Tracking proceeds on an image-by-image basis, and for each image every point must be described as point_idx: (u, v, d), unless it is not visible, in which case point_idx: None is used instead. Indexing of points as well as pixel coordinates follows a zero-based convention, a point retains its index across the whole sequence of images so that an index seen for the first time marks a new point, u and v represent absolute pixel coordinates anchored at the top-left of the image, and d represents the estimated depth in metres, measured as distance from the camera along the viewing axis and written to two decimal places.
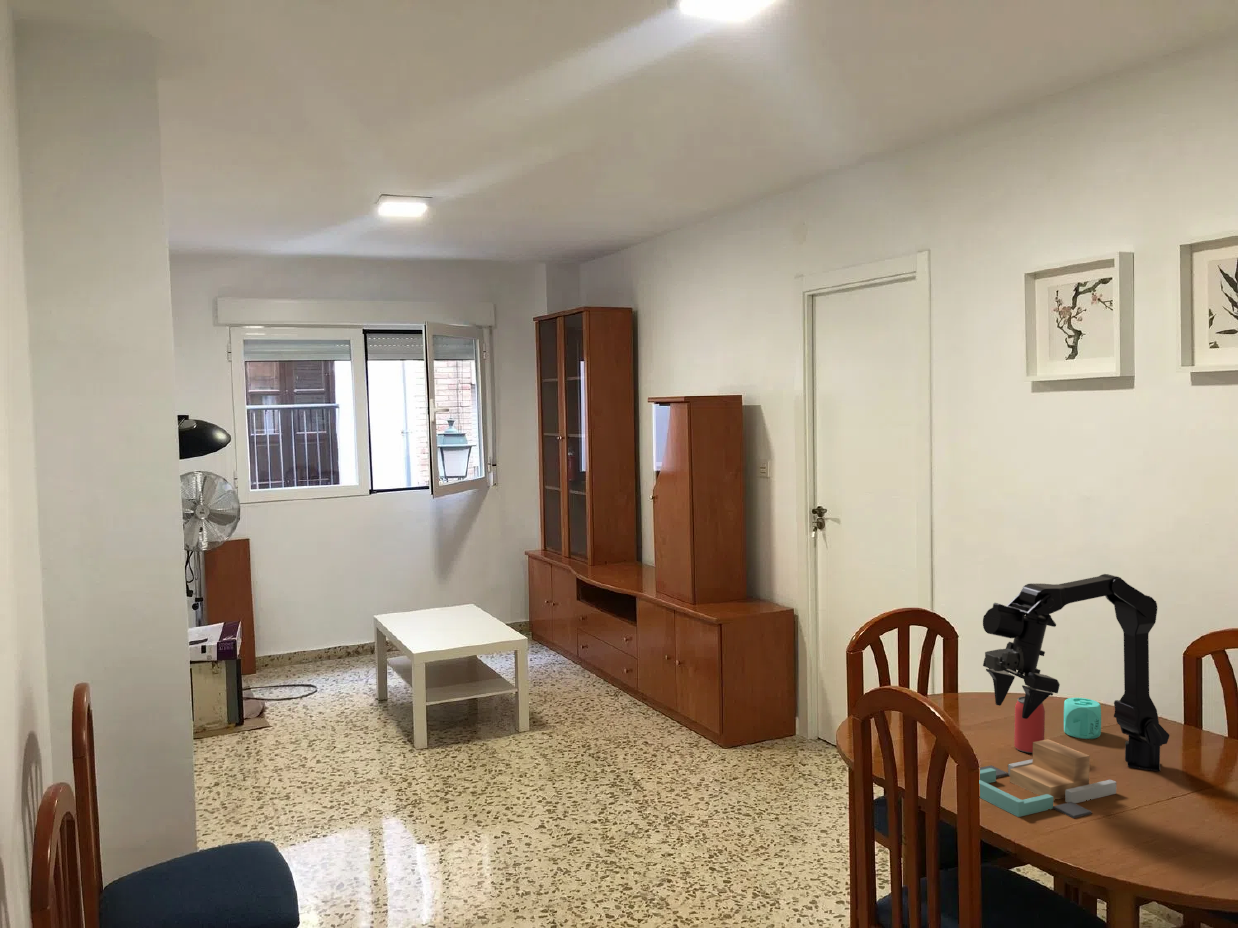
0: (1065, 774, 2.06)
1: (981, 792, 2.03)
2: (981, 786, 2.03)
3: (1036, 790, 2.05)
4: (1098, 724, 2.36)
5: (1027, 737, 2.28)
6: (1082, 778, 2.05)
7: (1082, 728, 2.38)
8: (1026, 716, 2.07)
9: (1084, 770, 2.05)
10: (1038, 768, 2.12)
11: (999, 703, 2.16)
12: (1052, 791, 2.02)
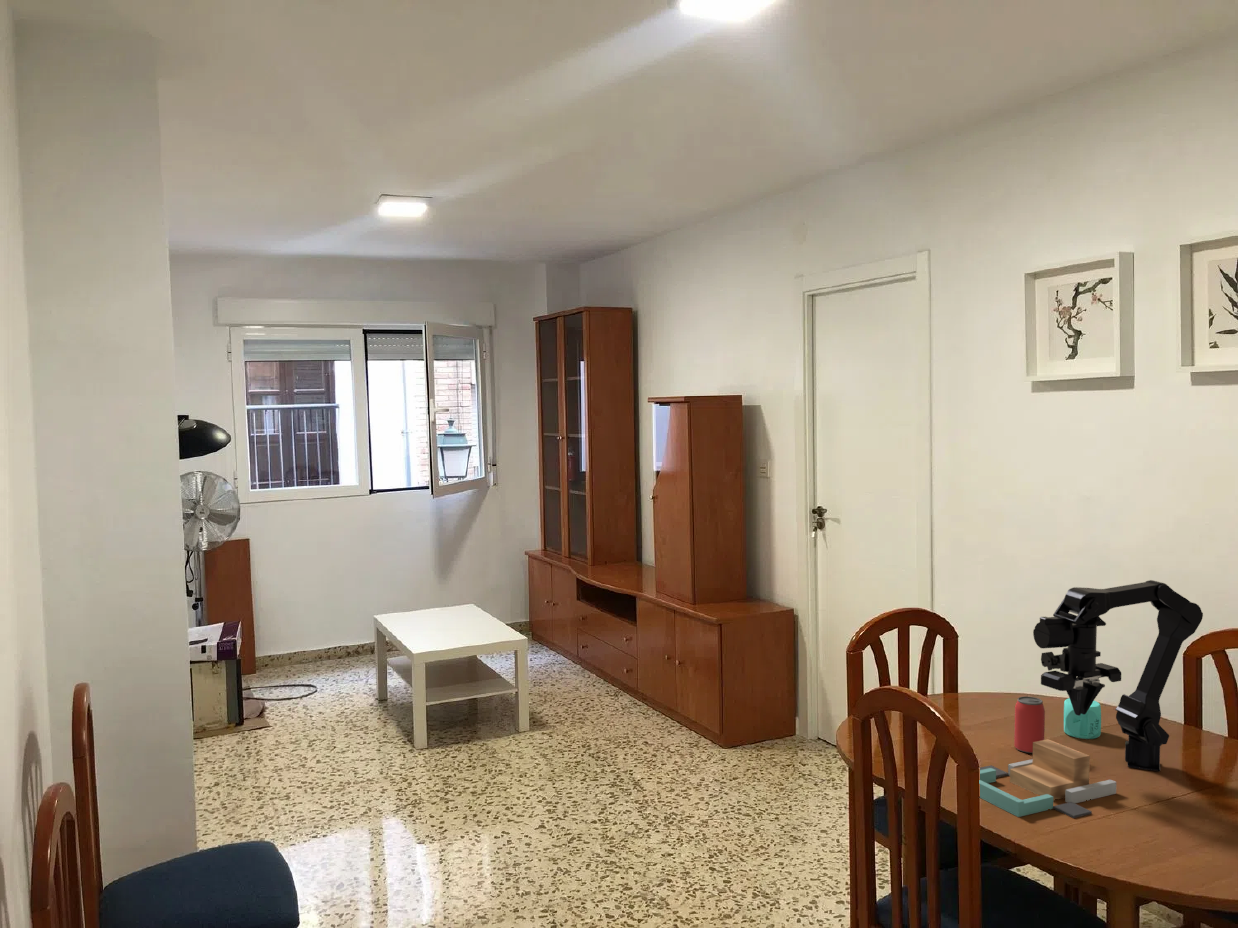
0: (1065, 774, 2.06)
1: (981, 792, 2.03)
2: (981, 786, 2.03)
3: (1036, 790, 2.05)
4: (1098, 724, 2.36)
5: (1027, 737, 2.28)
6: (1082, 778, 2.05)
7: (1082, 728, 2.38)
8: (1076, 712, 2.16)
9: (1084, 770, 2.05)
10: (1038, 768, 2.12)
11: (1082, 712, 2.17)
12: (1052, 791, 2.02)
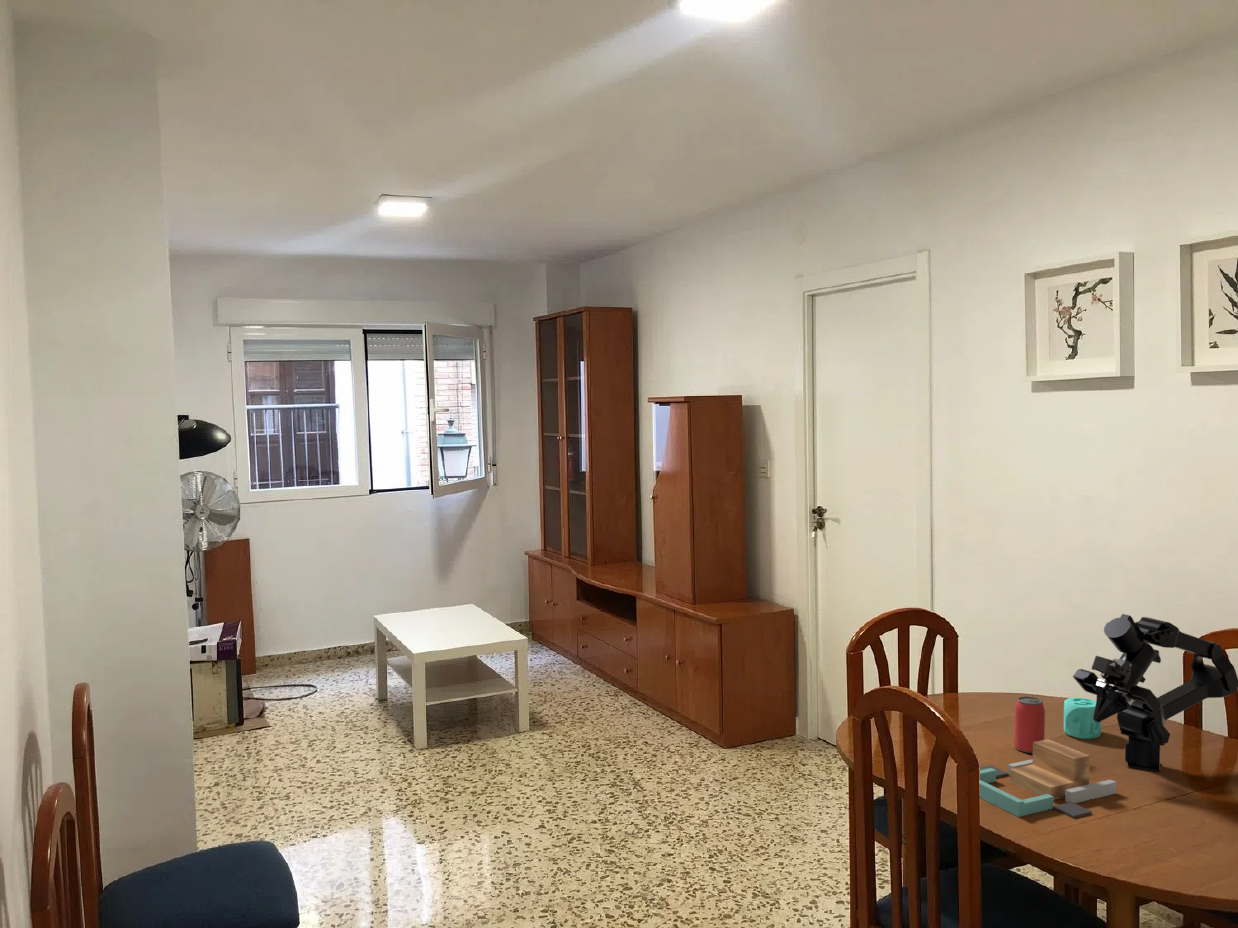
0: (1065, 774, 2.06)
1: (981, 792, 2.03)
2: (981, 786, 2.03)
3: (1036, 790, 2.05)
4: (1098, 724, 2.36)
5: (1027, 737, 2.28)
6: (1082, 778, 2.05)
7: (1082, 728, 2.38)
8: (1099, 719, 2.13)
9: (1084, 770, 2.05)
10: (1038, 768, 2.12)
11: None
12: (1052, 791, 2.02)
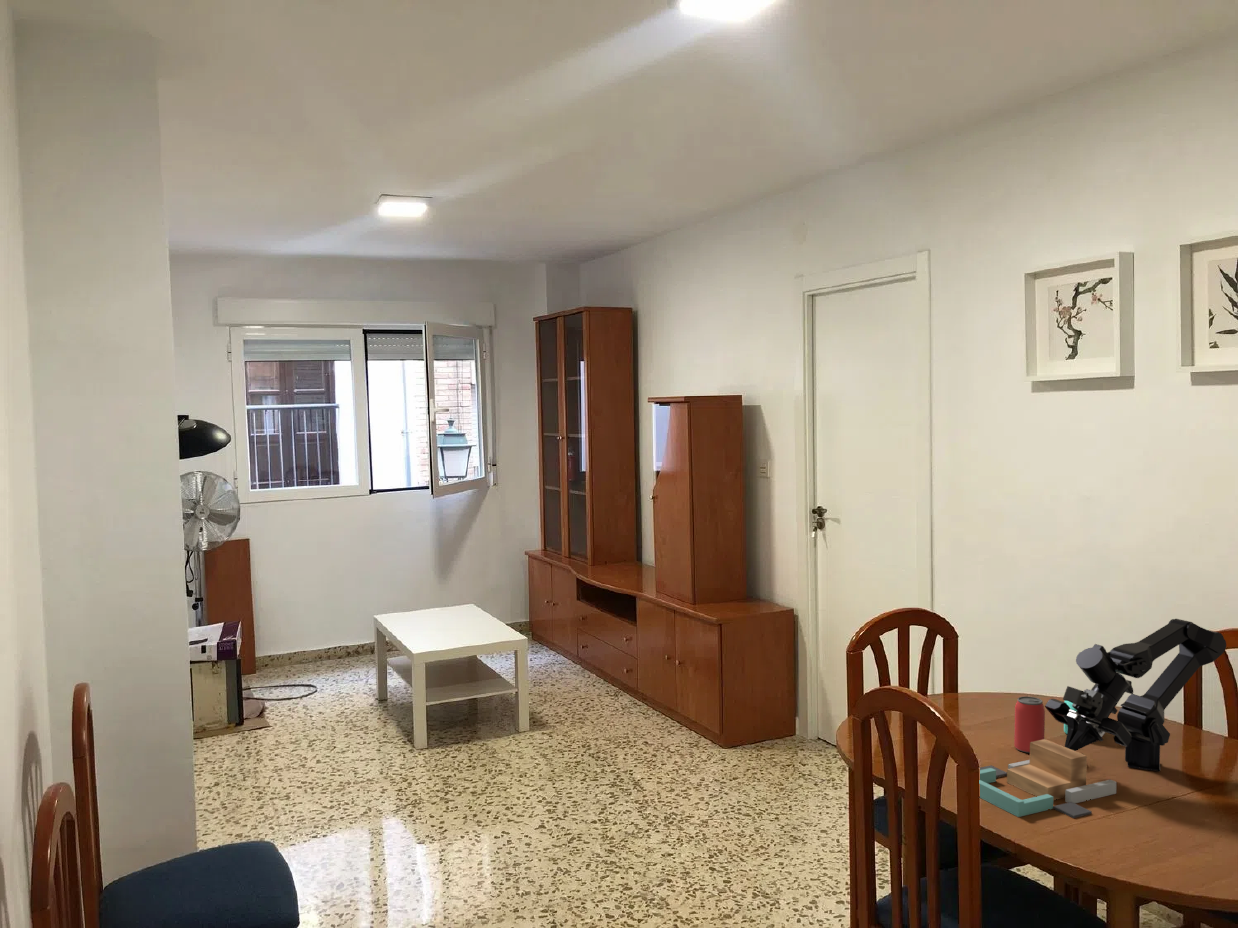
0: (1063, 774, 2.06)
1: (981, 792, 2.03)
2: (981, 786, 2.03)
3: (1033, 790, 2.05)
4: None
5: (1027, 737, 2.28)
6: (1079, 778, 2.05)
7: None
8: None
9: (1081, 770, 2.05)
10: (1035, 768, 2.12)
11: None
12: (1049, 791, 2.02)
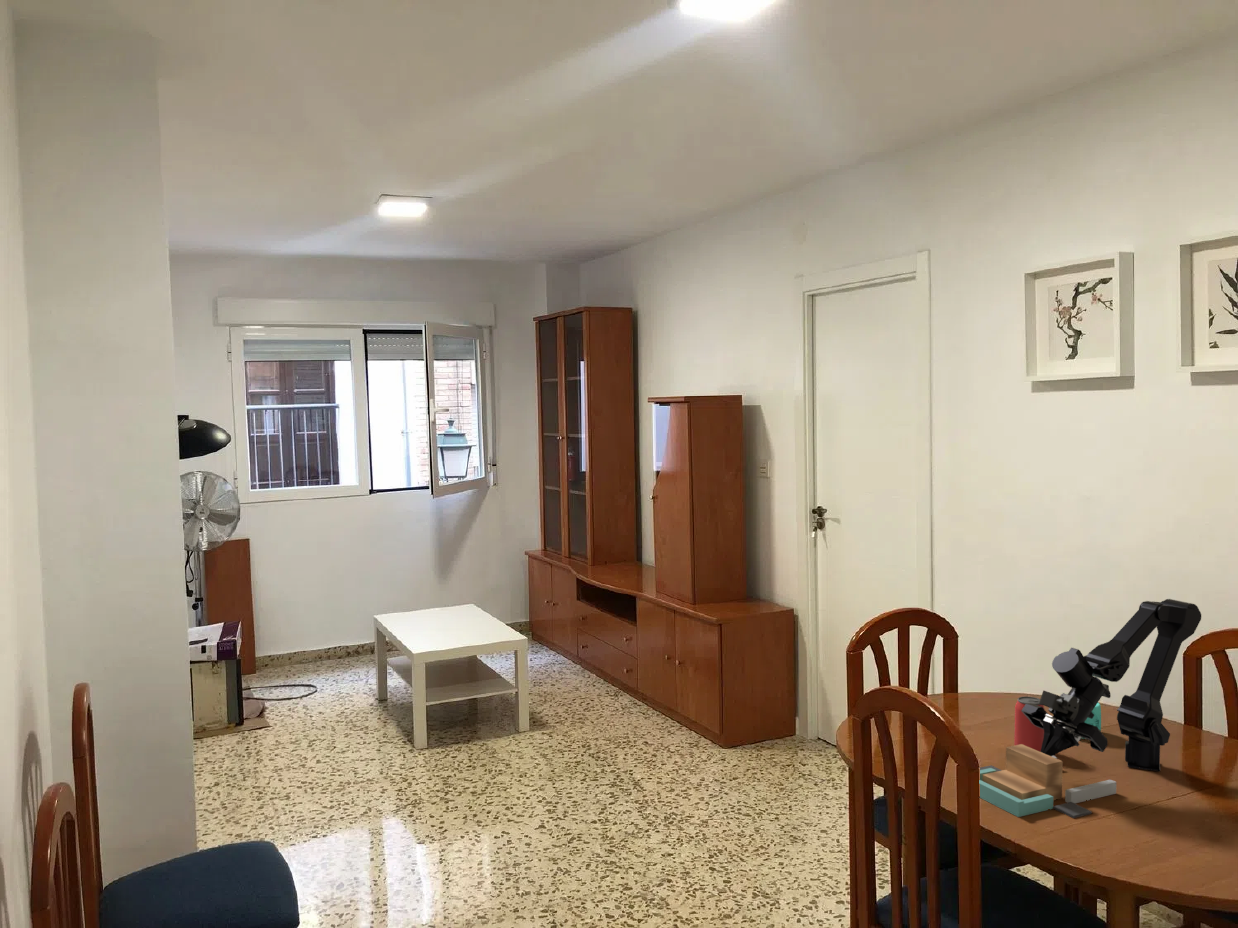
0: (1038, 779, 2.03)
1: (981, 792, 2.03)
2: (981, 786, 2.03)
3: None
4: (1098, 724, 2.36)
5: (1027, 737, 2.28)
6: (1055, 783, 2.02)
7: None
8: None
9: (1057, 776, 2.02)
10: (1011, 773, 2.09)
11: None
12: (1023, 797, 1.99)
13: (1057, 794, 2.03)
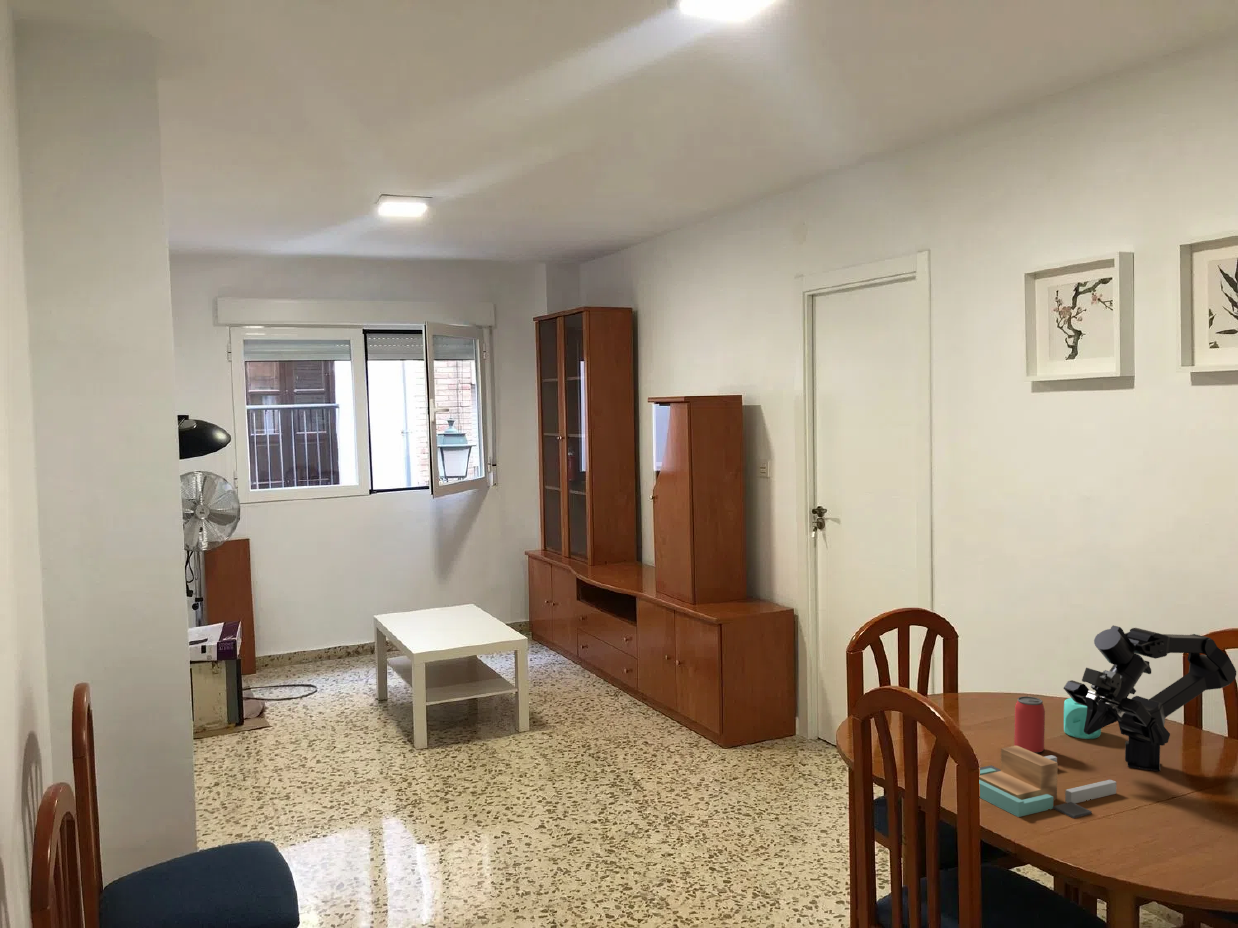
0: (1033, 781, 2.02)
1: (981, 792, 2.03)
2: (981, 786, 2.03)
3: None
4: None
5: (1027, 737, 2.28)
6: (1050, 785, 2.02)
7: (1082, 728, 2.38)
8: (1089, 732, 2.12)
9: (1052, 777, 2.02)
10: (1006, 775, 2.08)
11: None
12: None
13: None
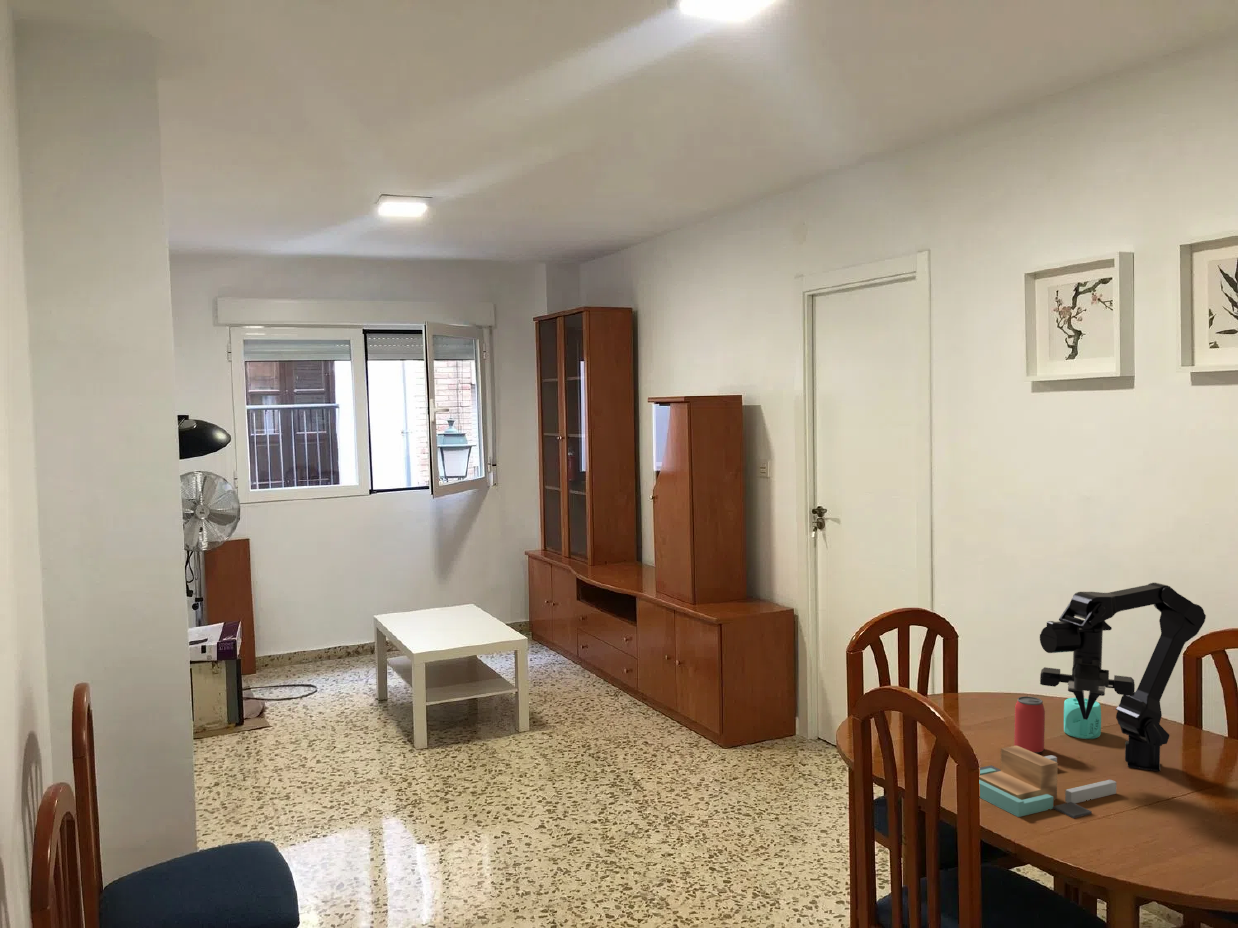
0: (1033, 781, 2.02)
1: (981, 792, 2.03)
2: (981, 786, 2.03)
3: None
4: (1098, 724, 2.36)
5: (1027, 737, 2.28)
6: (1050, 785, 2.02)
7: (1082, 728, 2.38)
8: (1088, 716, 2.16)
9: (1052, 777, 2.02)
10: (1006, 775, 2.08)
11: None
12: None
13: None
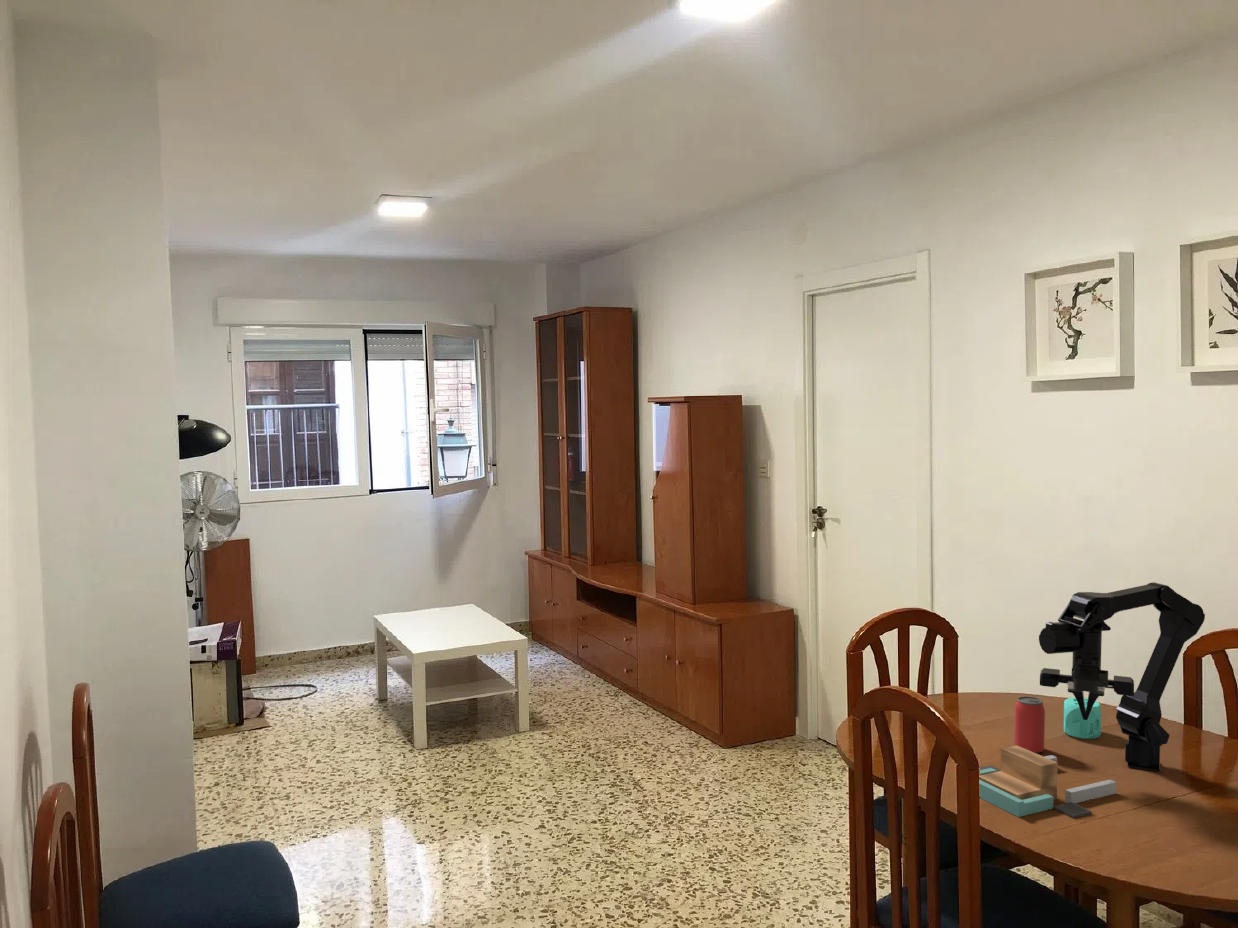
0: (1033, 781, 2.02)
1: (981, 792, 2.03)
2: (981, 786, 2.03)
3: None
4: (1098, 724, 2.36)
5: (1027, 737, 2.28)
6: (1050, 785, 2.02)
7: (1082, 728, 2.38)
8: None
9: (1052, 777, 2.02)
10: (1006, 775, 2.08)
11: None
12: None
13: None
